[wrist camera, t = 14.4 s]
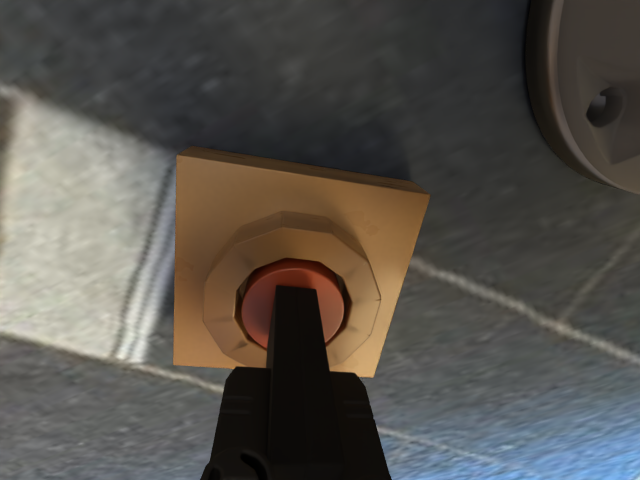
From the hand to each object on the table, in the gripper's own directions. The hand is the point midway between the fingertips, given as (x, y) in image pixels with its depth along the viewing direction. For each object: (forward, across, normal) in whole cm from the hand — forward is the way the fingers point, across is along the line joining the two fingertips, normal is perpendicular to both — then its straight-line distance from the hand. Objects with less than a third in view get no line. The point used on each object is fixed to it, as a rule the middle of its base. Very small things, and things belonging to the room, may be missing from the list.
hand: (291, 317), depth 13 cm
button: (+2, 0, 0) cm, 2 cm away
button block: (+5, 0, 0) cm, 5 cm away
